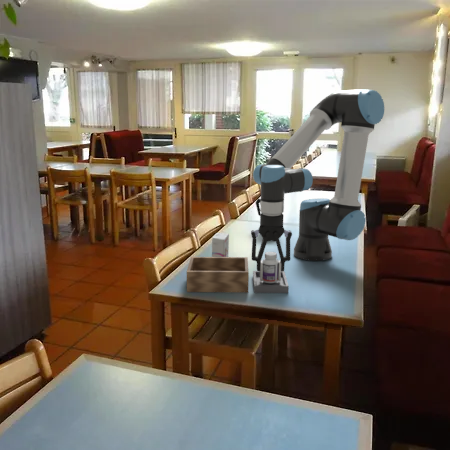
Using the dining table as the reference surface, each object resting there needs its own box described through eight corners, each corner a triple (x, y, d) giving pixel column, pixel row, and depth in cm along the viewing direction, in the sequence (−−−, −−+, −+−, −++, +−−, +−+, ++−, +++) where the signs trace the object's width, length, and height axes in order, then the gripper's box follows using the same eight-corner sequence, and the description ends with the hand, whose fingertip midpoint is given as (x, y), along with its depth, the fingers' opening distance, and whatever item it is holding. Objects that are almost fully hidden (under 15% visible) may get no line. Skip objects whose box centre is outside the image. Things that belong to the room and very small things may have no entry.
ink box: (224, 269, 170) (224, 239, 167) (211, 268, 171) (211, 238, 168) (228, 262, 178) (229, 232, 175) (216, 261, 179) (216, 232, 176)
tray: (284, 277, 163) (284, 271, 162) (288, 292, 149) (288, 286, 148) (252, 277, 163) (253, 270, 162) (254, 292, 149) (254, 285, 149)
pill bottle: (269, 276, 159) (269, 249, 157) (281, 280, 156) (282, 253, 153) (258, 280, 156) (259, 253, 153) (271, 285, 152) (271, 257, 149)
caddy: (247, 275, 164) (247, 257, 162) (248, 292, 149) (248, 272, 148) (191, 275, 164) (191, 256, 163) (186, 291, 150) (186, 271, 148)
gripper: (298, 210, 153) (296, 276, 159) (243, 210, 153) (242, 275, 159) (301, 215, 146) (298, 284, 152) (243, 215, 146) (243, 283, 152)
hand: (270, 279), depth 156 cm, fingers closed on pill bottle, 5 cm apart
